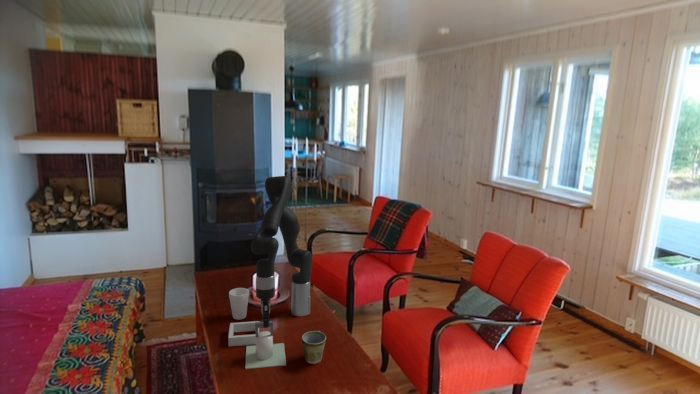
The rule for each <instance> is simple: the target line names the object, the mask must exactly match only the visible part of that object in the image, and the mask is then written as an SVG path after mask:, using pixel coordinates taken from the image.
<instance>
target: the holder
mask: <svg viewBox="0 0 700 394" xmlns="http://www.w3.org/2000/svg"><path fill="white" fill-rule="evenodd" d="M255 322H260V321H259V320H256V321H255V320H254V321H241V322H229V323H230V324H229V328H228V329H229V330H228V338H227V339H228V344H227V345H228V347H237V346H239V347H240V346H241V347H242V346H254V345H256V333H253V334H241V335H235V334H234V333H245V332H255ZM259 332H260V328H258V333H259Z"/></svg>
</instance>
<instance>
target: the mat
mask: <svg viewBox="0 0 700 394" xmlns="http://www.w3.org/2000/svg"><path fill="white" fill-rule="evenodd" d="M245 346H246V347H245V348H246V349H245V350H246V351H245V366H244V368H245V370H251V369H262V368H273V367H283V366H287V359H286V351H285V343H284V342H281V343H273V356H272V357H271V358H270V359H268V360H259V359H257V358H256V344H254V345H245Z"/></svg>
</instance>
